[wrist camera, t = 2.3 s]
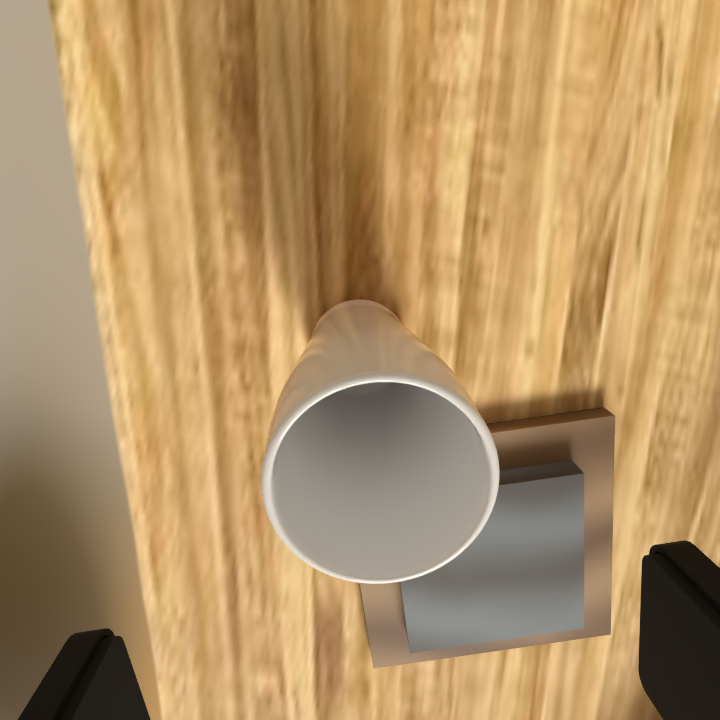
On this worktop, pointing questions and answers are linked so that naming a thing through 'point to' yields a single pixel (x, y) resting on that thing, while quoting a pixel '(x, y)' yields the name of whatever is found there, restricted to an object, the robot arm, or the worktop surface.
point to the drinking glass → (376, 453)
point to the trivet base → (597, 533)
